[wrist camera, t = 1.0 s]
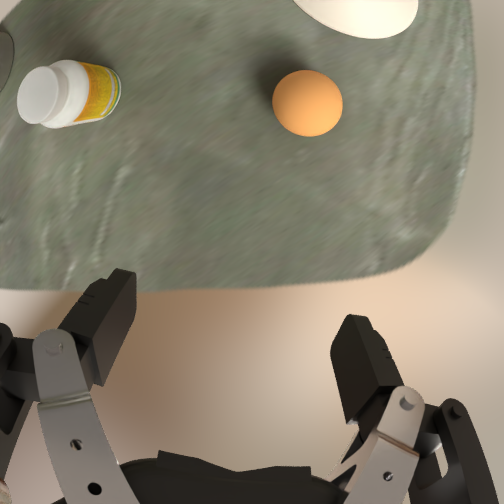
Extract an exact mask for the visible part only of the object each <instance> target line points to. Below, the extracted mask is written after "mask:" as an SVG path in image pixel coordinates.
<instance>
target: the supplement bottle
mask: <svg viewBox="0 0 504 504" xmlns="http://www.w3.org/2000/svg"><path fill="white" fill-rule="evenodd" d="M120 95H121V83H120V79H119V77H118V75H117V74H116V73H115V72H114V71H113V70H111V69H110V68H107V67H104V66H100V65H95V64H90V63H85V62H79V61H74V60H61V61H57V62H55V63H53V64H51V65H50V66H41V67H37V68H35V69H33V70H32V71H30V72H29V73H28V74H27V75H26V77H25V78H24V79H23V81H22V83H21V85H20V88H19V91H18V95H17V107H18V111H19V114H20V116H21V117H22V118H23V120H25V121H26V122H28V123H31V124H36V123H41V124H42V125H44V126H46V127H49V128H61V127H66V126H71V125H76V124H81V123H87V122H93V121H97V120H100V119H103V118H105V117H106V116H108V115H109V114H110V113H111V112H112V111H113V109H114V108H115V106H116V105H117V103H118V101H119V98H120Z"/></svg>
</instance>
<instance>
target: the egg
mask: <svg viewBox="0 0 504 504" xmlns="http://www.w3.org/2000/svg"><path fill="white" fill-rule="evenodd" d="M272 104H273V110H274V113H275V115H276V117H277V119H278V120H279V122H280V123H281V124H282V125H283V126H284V127H285V128H286V129H288V130H289V131H291V132H293V133H295V134H298V135H302V136H317V135H321V134H323V133H325V132H327V131H329V130H330V129H331V128H333V127H334V126H335V124H336V123H337V122H338V120H339V118H340V116H341V113H342V105H343V104H342V97H341V94H340V91H339V89H338V87H337V86H336V85H335V83H334V82H333V81H332V80H331V79H330V78H328V77H327V76H325V75H323V74H322V73H319V72H316V71H312V70H300V71H296V72H293V73H290V74H288V75H287V76H285V77H284V78H283V79H282V80H281V81H280V82H279V83H278V85H277V86H276V88H275V90H274V94H273V99H272Z"/></svg>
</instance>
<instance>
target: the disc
mask: <svg viewBox="0 0 504 504" xmlns="http://www.w3.org/2000/svg"><path fill="white" fill-rule="evenodd" d="M293 1H294V2H295V3H296V4H297V5H298V6H299V7H300V8H301V9H302V10H303V11H304V12H305V13H307V14H308V15H309V16H311V17H312V18H313V19H315V20H317V21H318V22H320V23H322V24H323V25H325V26H327V27H329V28H331V29H334V30H336V31H339V32H341V33H344V34H347V35H351V36H355V37H360V38H369V39H378V38H386V37H390V36H393V35H396V34H398V33H400V32H402V31H403V30H405V29H406V28H407V27H408V26H409V25H410V24H411V23H412V21H413V20H414V18H415V15H416V13H417V8H418V0H293Z"/></svg>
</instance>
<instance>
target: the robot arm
mask: <svg viewBox="0 0 504 504" xmlns="http://www.w3.org/2000/svg"><path fill="white" fill-rule="evenodd" d="M13 53H14V49H13V42H12V39H11V37H10V35H8V34H7V33H4V32H0V91H1V90H2V88H3V87H4V85H5V83H6V81H7V78H8V76H9V73H10V70H11V66H12V61H13ZM136 303H137V302H136V273H135V272H131V271H126V270H122V269H118V268H116V269H115V270H114V271H113V272H112V274H111V275H110V276H109V278H108V279H107V280H106V279H102V278H100V279H99V280H97V281H95V282H93V283H92V284H90V285H89V287H88V288H87V289H86V290H85V292H84V293H83V295H82V296H81V297H80V298H79V300H78V302H76V303H75V305H74V306H73V307H72V309H71V310H70V312H69V313H68V314H67V316H66V317H65V318H64V320H63V321H62V323H61V324H60V325H59V327H58V328H57V329H49V330H46V331H43V332H42V333H40V334H39V335H38V336H37V337H36V338H35V339H26V338H17V337H13V334H12V332H11V330H10V328H9V327H8V326H7V325H6V324H3V323H0V504H11V503H12V500H11V495H10V491H9V488H8V486H7V484H6V483H5V481H4V477H5V474H6V471H7V468H8V465H9V462H10V459H11V456H12V453H13V450H14V447H15V445H16V442H17V439H18V437H19V434H20V431H21V429H22V427H23V424H24V421H25V419H26V417H27V415H28V412H29V410H30V407H31V405H32V403H33V401H37V402H40V403H38V405H37V409H38V415H39V419H40V423H41V428H42V431H43V435H44V439H45V443H46V446H47V450H48V453H49V456H50V459H51V462H52V465H53V468H54V471H55V474H56V477H57V479H58V482H59V485H60V487H61V490H62V492H63V494H64V497H63V498H62V499H60V500H58V501H56V502H54V503H52V504H402V502H403V500H404V497H405V495H406V492H407V490H408V492H409V498H410V503H411V504H499V502H498V498H497V495H496V491H495V487H494V484H493V480H492V477H491V474H490V471H489V467H488V465H487V461H486V459H485V456H484V453H483V450H482V447H481V444H480V442H479V439H478V436H477V434H476V431H475V429H474V426H473V424H472V421H471V419H470V417H469V414H468V412H467V410H466V408H465V407H464V405H463V404H462V403H461V402H459V401H458V400H456V399H452V398H449V399H446V400H445V401H444V402H443V403H442V404H441V405H440V406H439V407H437V406H433V405H429V404H425V403H424V400H423V399H422V396H421V395H420V394H419V393H418V392H417V391H416V390H414V389H413V388H411V387H408V386H404V383H403V381H402V378H401V376H400V374H399V371H398V369H397V367H396V365H395V362H394V360H393V359H392V356H391V353H390V351H388V347H387V344H386V343H385V340H384V339H383V338H382V337H381V335H380V334H379V333H378V332H377V331H376V330H373V327H372V325H371V323H370V321H369V319H368V318H367V317H366V316H359V315H352V314H349V315H347V316H346V318H345V319H344V321H343V323H342V325H341V327H340V329H339V331H338V333H337V335H336V337H335V339H334V340H333V342H332V345H331V350H330V357H331V361H332V365H333V369H334V373H335V377H336V381H337V386H338V390H339V394H340V398H341V402H342V407H343V411H344V416H345V420H346V424H358V426H359V429H358V430H357V431H356V432H355V434H354V436H353V437H352V439H351V441H350V443H349V444H348V446H347V448H346V449H345V451H344V453H343V454H342V456H341V458H340V459H339V461H338V463H337V464H336V466H335V467H334V469H333V470H332V471H331V472H330V473H329V474H328V475H327V476H326V477H325V478H324V479H322V478H319V477H316V476H313V475H311V468H310V466H306V467H305V466H303V467H292V466H290V467H289V466H274V467H268V468H262V469H256V470H249V471H243V472H235V471H231V470H228V469H225V468H223V467H220V466H217V465H214V464H211V463H209V462H206V461H204V460H201V459H199V458H194V457H188V456H184V455H179V454H174V453H169V452H164V451H161V450H159V452H158V457H157V458H147V459H138V460H133V461H130V462H126V463H124V464H121V465H119V464H118V461H117V460H116V457H115V455H114V453H113V451H112V449H111V446H110V444H109V442H108V440H107V437H106V435H105V433H104V430H103V428H102V425H101V423H100V420H99V418H98V415H97V413H96V410H95V407H94V405H93V401H92V399H91V396H90V393H89V392H90V390H91V387H92V385H93V383H94V384H97V385H100V386H104V384H105V381H106V379H107V377H108V375H109V372H110V370H111V368H112V366H113V363H114V361H115V359H116V357H117V354H118V352H119V350H120V348H121V346H122V344H123V341H124V340H125V337H126V335H127V333H128V331H129V328H130V327H131V325H132V323H133V321H134V318H135V313H136ZM441 446H443V449H444V453H445V456H446V460H447V463H448V471H447V474H446V475H445V476H444V477H443V478H442V476H441V472H440V469H439V465H438V461H437V458H436V454H435V451H436V450H437V449H439V448H440V447H441Z"/></svg>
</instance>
